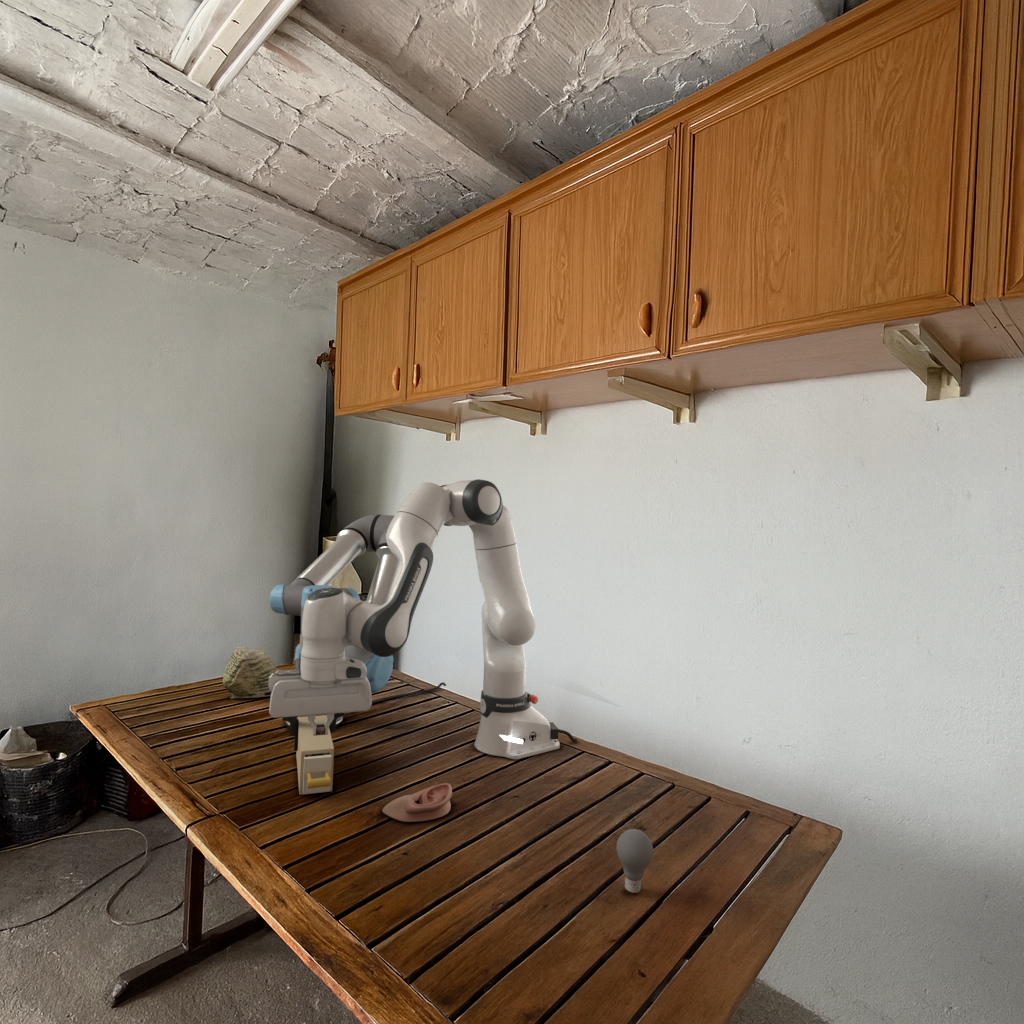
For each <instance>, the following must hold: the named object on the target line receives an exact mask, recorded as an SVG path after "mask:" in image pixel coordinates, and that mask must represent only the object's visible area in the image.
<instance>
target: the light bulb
mask: <svg viewBox="0 0 1024 1024" xmlns="http://www.w3.org/2000/svg"><path fill="white" fill-rule="evenodd" d="M615 849H616V854H617V857H618V859H619V861H620V863H621V865H622V867H623V873H624V874H623V875H624V876H625V878H624V888H625V890H627V891H628V892H630V893H634V894H635V893H639V892H640V891H641V889H642V887H641V886H642V879H643V877H644V875H645V871H646V868H647V867H648V866H649V864H650V863H651V861H652V859H653V855H654V847H653V843H652V841H651V838H649V836H648V835H647V834H646V833H645V832H643V831H642V830H641V829H636V828H629V829H627V830H625V831H623V832H622V833H621V834H620V835H619V837H618V839H617V841H616V847H615Z"/></svg>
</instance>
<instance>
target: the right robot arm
mask: <svg viewBox="0 0 1024 1024" xmlns="http://www.w3.org/2000/svg"><path fill="white" fill-rule="evenodd" d="M393 516H394V518H393V519H392V521H391V523H390V525H389V527H388V530H387V533H386V541H387V545H388V547H389V549H390V551H391V552H392V553H393V554H394V555H395V556H396V557H397V558H398V559H399V560H400V561H401V565H402V568H401V572H400V575H399V577H398V579H397V582H396V584H395V586H394V589H393V591H392V594H391V596H390V598H389V600H388V601H387V602H386V603H385V604H383V605H381V606H380V605H375V604H372V603H368V602H366V601H364V600H361V599H360V600H358V599H355V598H353V597H351V596H349V595H348V594H346V593H345V592H344V591H343V590H342V589H340V588H339V587H333V588H324V589H319V590H316V591H314V592H312V593H311V594H309V595H308V597H307V599H306V601H305V604H304V609H303V617H302V637H303V647H302V650H301V663H300V669H285V670H284V669H279V670H278V671H277V672H275V673H273V674H272V675H271V676H270V677H269V680H268V688H269V691H270V692H271V696H269V697H270V698H269V706H268V714H269V715H270V716H271V718H273V719H278V718H279V719H280V718H282V717H294V716H307V715H308V721H309V722H310V724H311V726H312V727H313V736H318V735H328V727H329V726H330V724H331V722H332V721H333V719H334V713H344V714H345V713H357V712H368V711H369V710H370V709H371V708H372V705H373V704H372V701H373V699H372V697H373V696H372V693H371V687H370V683H369V681H368V679H367V677H366V675H367V668H366V666H365V664H364V663H363V662H362V661H360V660H356V659H352V658H348V657H345V649H346V647H347V646H350V645H353V646H355V647H358V648H361V649H364V650H367V651H369V652H371V653H373V654H375V655H377V656H380V657H388V656H391V655H393V656H394V655H395V654H396V653H399V651H400V650H401V649H402V648H403V647H404V646H405V644H406V643H407V641H408V639H409V635H410V631H411V625H412V623H413V619H414V618H413V617H414V615H415V611H416V610H417V607H418V604H419V601H420V599H421V597H422V594H423V592H424V590H425V586H426V583H427V582H428V579H429V576H430V574H431V570H432V568H433V564H434V552H433V547H434V546H435V545H434V544H435V543H436V540H437V539H438V537H439V535H440V532H441V531H442V529H443V527H445V526H446V527H451V526H453V527H454V526H455V527H467V526H468V527H469V528H470V531H471V532H472V537H473V546H474V553H475V559H476V566H477V573H478V579H479V581H480V585H481V588H482V592H483V596H484V599H485V601H484V603H483V604H482V606H481V632H482V633H481V634H482V648H483V649H482V651H483V679H482V680H483V681H482V682H483V683H482V690H481V692H480V701H479V702H480V703H479V709H480V719H479V725H478V730H477V734H476V738H475V741H474V743H473V744H474V748H475V749H476V750H477V751H480V752H481V753H483V754H487V755H490V756H495V757H504V758H507V759H510V760H520V759H525V758H527V757H532V756H536V755H540V754H544V753H547V752H551V751H555V750H558V749H560V747H561V745H560V741H559V734H562V735H565V736H566V737H568V738H569V740H570V741H571V742H573V743H577V742H578V739H577V738H575V737H573V735H572V733H570V732H569V731H566V730H564V729H560V728H558V726H557V725H556V724H555V723H554V722H553V721H552V722H551V721H549V720H548V719H547V718H546V717H545V716H544V715H543V714H542V713H541V712H539V711H538V710H537V709H536V708H535V707H534V706H532V705H531V704H533V705H537V703H538V702H539V697H538V696H537V695H535V694H531V693H530V692H528V691H526V679H527V660H526V655H525V654H526V653H525V647H524V645H525V644H527V643H528V642H529V641H530V640H531V639H532V638H533V636H534V635H535V632H536V627H537V624H536V623H537V622H536V620H535V619H536V618H535V615H534V613H533V610H532V605H531V600H530V596H529V594H528V590H527V586H526V583H525V580H524V577H523V572H522V567H521V560H520V555H519V548H518V543H517V542H518V541H517V536H516V532H515V531H516V530H515V527H514V524H513V520H512V517H511V514H510V511H509V509H508V508H507V507H506V506H505V505H504V504H503V498H502V495H501V492H500V490H499V489H498V487H497V485H495V483H493V482H492V481H489V480H486V479H473V480H471V479H468V480H459V481H456V482H453V483H450V484H443V485H439V484H437V483H434V482H422V483H420V484H418V485H417V486H416V487H415V488H414V489H413V490H412V491H411V492H410V494H409V495H408V496H407V497H406V498H405V499H404V500H403V502H402V504H400V506H399V508H398V510H397V511H396V513H395V515H393ZM276 674H277V676H274V675H276ZM320 714H326V715H327V720H326V722H325V724H321V725H316V723H315V722H314V720H315V716H316V715H320Z"/></svg>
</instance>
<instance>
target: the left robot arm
mask: <svg viewBox="0 0 1024 1024" xmlns="http://www.w3.org/2000/svg"><path fill="white" fill-rule="evenodd" d="M394 516H395V515H392V514H390V515H389V514H388V515H387V514H376V513H375V514H369V515H366V516H363V517H361V518H358V519H356V520H354V521H353V522H351V523H350V524H347V525H346V526H345V527H344V528H343V529H341V531H339V532H338V533H337V535H336V538H335V541H334V542H333V543H332V544H331V545H330V546H328V548H327V549H325V550H324V551H323V552H322V553H321V554H320V555H319V556H318V557H317V558H316V559H314V561H313V562H312V563H311V564H309V566H308V567H307V568H305V570H303V571H302V573H300V574H299V575H298V576H297V577H296V578H295V579H294V580H292V582H291V583H289V584H287V583H284V584H276V585H275V586H274V587H273V588H272V589H271V591H270V594H269V598H268V601H269V607H270V610H272V611H273V612H274V613H276V614H282V615H286V616H296V617H297V616H299V617H300V633H299V643H298V644H297V645H296V647H295V652H294V659H293V660H294V669H300V663H301V650H302V647H303V637H302V617H303V609H304V604H305V601H306V599H307V597H308V595H309V594H311V593H312V592H314V591H316V590H319V589H324V588H334V587H333V586H331V584H332V583H333V582H334V581H335V580H336V578H337V577H338V576H340V575H341V573H342V572H343V571H344V570H345V569H346V568H347V567H348V566H349V565H351V563H352V562H353V561H354V560H355V559H357V558H360V557H362V556H363V555H364V554H365V553H366V554H367V553H375V554H376V556H377V558H378V561H377V564H376V568H375V571H374V575H373V578H372V581H371V584H370V587H369V589H368V590H369V591H368V594H367V597H366V600H365V602H368V603H372V604H375V605H380V606H381V605H383V604H385V603H386V602H387V601H388V600H389V598H390V596H391V594H392V591H393V589H394V586H395V584H396V582H397V579H398V577H399V575H400V572H401V568H402V565H401V561H400V560H399V559H398V558H397V557H396V556H395V555H394V554H393V553H392V552H391V551H390V549H389V547H388V545H387V541H386V533H387V530H388V527H389V525H390V523H391V521H392V519H393V518H394ZM339 589H342V590H343V591H344V592H345V593H346V594H348V595H349V596H351V597H353V598H355V599H358V600H361V598H360V595H359V593H358V592H357V591H356V590H355V589H354V588H352V587H340V588H339ZM345 657H348V658H352V659H356V660H360V661H362V662H363V663H364V664H365V666H366V668H367V675H366V677H367V679H368V681H369V683H370V687H371V694H374V693H375V694H376V693H378V692H380V691H381V690H382V689H384V687H385V686H386V685H387V684H388V682H389V680H390V678H391V675H392V673H393V670H394V661H395V660H394V654H393V655H391V656H388V657H380V656H377V655H375V654H373V653H371V652H369V651H367V650H364V649H361V648H358V647H355V646H353V645H350V646H347V647H346V649H345ZM442 686H444V687H446V686H447V684H446V683H445V682H440V683H439V684H438V685H437V686H435V687H432V688H428V689H423V690H417V691H413V692H407V693H400V694H399V693H398V694H395V695H389V696H384V697H381V698H377V699H374V700H372V705H374V704H376V703H380V702H383V701H387V700H391V699H397V698H401V697H402V698H403V697H408V696H414V695H415V696H416V695H419V694H426V693H429V692H434V691H437V690H438V689H439V688H440V687H442ZM322 715H326V714H320V715H316V716H322ZM326 716H327V715H326ZM344 716H345V713H334V719H333V721H332V722H331V724H330V726H329V729H330V733H331V734H332V733H336V731H337V727H339V726H340V725H342V723H343V722H344ZM298 717H308V715H307V716H294V717H281V718H282V721H284V722H285V726H286V728H287V729H289V736H290V737H293V738H294V740H293V749H294V750H293V751H294V752H296V751H298V730H299V719H298Z"/></svg>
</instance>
